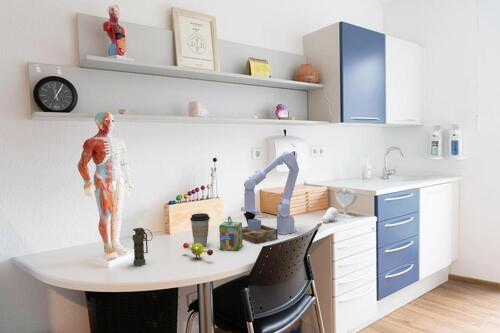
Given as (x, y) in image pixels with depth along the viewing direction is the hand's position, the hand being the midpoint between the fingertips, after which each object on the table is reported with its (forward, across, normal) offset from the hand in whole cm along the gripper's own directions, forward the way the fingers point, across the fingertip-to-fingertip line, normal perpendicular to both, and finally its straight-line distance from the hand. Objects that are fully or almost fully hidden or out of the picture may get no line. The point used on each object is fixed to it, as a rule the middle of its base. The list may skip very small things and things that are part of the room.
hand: (250, 225), depth 187 cm
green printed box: (+4, +16, -22) cm, 27 cm away
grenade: (+4, +12, -63) cm, 64 cm away
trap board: (+4, +8, -3) cm, 9 cm away
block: (+1, +4, 0) cm, 4 cm away
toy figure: (+4, +20, -42) cm, 46 cm away
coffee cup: (+4, +4, -32) cm, 32 cm away
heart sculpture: (+4, +4, +75) cm, 75 cm away
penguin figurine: (+4, +9, +53) cm, 54 cm away
